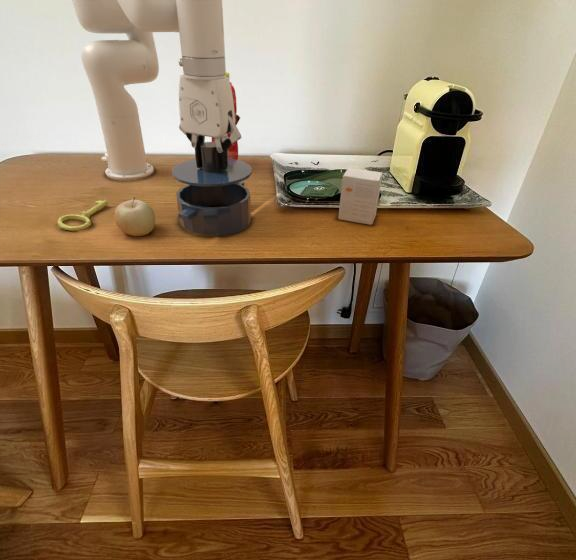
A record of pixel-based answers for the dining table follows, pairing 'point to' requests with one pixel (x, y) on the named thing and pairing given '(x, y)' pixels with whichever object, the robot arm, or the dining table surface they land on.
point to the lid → (210, 170)
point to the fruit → (135, 217)
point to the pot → (214, 209)
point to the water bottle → (233, 150)
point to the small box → (359, 195)
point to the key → (82, 217)
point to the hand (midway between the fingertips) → (212, 167)
